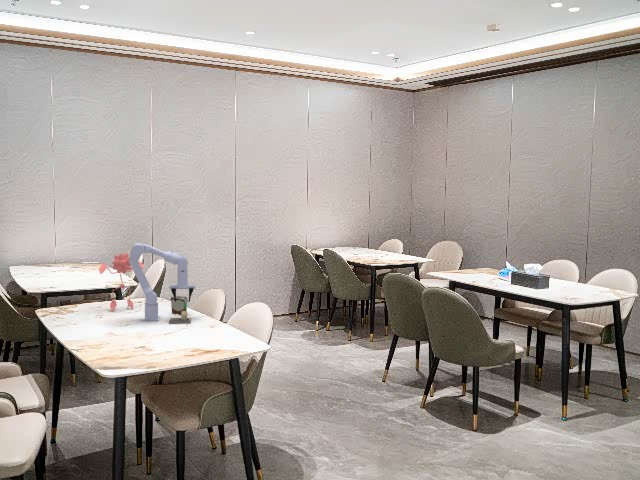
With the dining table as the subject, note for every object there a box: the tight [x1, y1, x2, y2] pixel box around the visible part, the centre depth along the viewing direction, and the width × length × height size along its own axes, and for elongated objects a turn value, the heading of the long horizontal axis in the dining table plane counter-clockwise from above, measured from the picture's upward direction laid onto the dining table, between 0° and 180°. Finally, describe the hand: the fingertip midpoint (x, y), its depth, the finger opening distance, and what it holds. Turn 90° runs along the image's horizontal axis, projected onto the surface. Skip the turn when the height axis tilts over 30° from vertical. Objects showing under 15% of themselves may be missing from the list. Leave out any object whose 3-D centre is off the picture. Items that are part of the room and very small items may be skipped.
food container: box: [169, 295, 189, 316], centre depth 368 cm, size 12×6×10 cm, turn 58°
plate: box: [168, 317, 192, 325], centre depth 346 cm, size 8×12×2 cm
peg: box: [180, 310, 188, 320], centre depth 346 cm, size 3×3×6 cm
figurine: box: [98, 252, 145, 314], centre depth 372 cm, size 15×26×35 cm, turn 122°
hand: (182, 301), depth 355 cm, fingers open, 7 cm apart
